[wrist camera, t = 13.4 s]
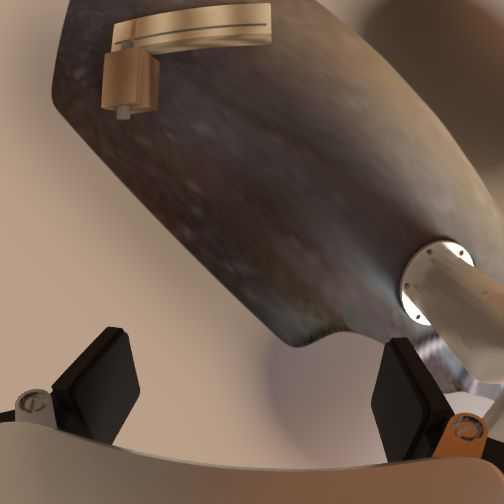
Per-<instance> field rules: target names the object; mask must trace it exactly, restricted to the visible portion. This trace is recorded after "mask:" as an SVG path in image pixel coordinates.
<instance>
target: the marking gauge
mask: <svg viewBox="0 0 504 504" xmlns="http://www.w3.org/2000/svg"><path fill="white" fill-rule="evenodd" d="M159 65H160V62H159V61H158V60H156V59H155V58H154V57H152V56H151V55H150V54H149V53H147V52H146V51H145V50H143V49H142V48H141V47H139V46H137V47H134V43H133V42H132V41H131V40H129V41H125V42H121V50H118V51H114V52H110V53H106V54H105V60H104V72H103V85H102V104H101V108H104V109H108V110H111V111H115V112H117V119H119V120H126V119H130V114H136V113H144V112H152V111H158V87H159Z"/></svg>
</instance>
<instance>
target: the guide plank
mask: <svg viewBox="0 0 504 504" xmlns="http://www.w3.org/2000/svg"><path fill="white" fill-rule="evenodd" d="M129 40H131V41H132V42H133V43H134V47H137V46H139V47H141V48H142V49H143V50H145V51H146V52H147V53H149V54H150V55H157V54H164V53H170V52H178V51H185V50H194V49H204V48H215V47H230V46H253V45H272V24H271V4H270V3H254V4H234V5H220V6H210V7H201V8H193V9H186V10H179V11H173V12H167V13H161V14H156V15H151V16H146V17H142V18H137V19H133V20H129V21H125V22H121V23H117V24H114V31H113V40H112V49H111V52H114V51H118V50H121V42H125V41H129Z"/></svg>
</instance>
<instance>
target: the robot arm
mask: <svg viewBox="0 0 504 504" xmlns="http://www.w3.org/2000/svg"><path fill="white" fill-rule="evenodd" d="M427 251H428V252H427ZM406 283H407V284H406ZM405 284H406V285H405ZM400 300H401V303H402V306H403V308H404V310H405V311H406V313H407V314H408V315H409V316H410V317H411V318H412V319H413V320H414V321H416V322H418V323H420V324H424V325H431V326H432V327H433V328H434V329H435V331H436V332H437V333H438V334H439V335H440V337H441V338H442V339H443V340H444V342H445V343H446V344H447V345H448V347H449V348H450V349H451V350H452V352H453V353H454V354H455V355H456V357H457V358H458V359H459V361H460V362H461V363H462V364H463V366H464V367H465V368H466V370H467V371H468V372H469V373H470V374H471V375H472V376H473V377H474V378H476V379H477V380H479V381H482V382H484V383H490V384H502V383H504V285H502V284H501V283H499V282H498V281H496V280H494V279H493V278H492V277H491V276H488V275H487V274H485V273H484V272H482V271H480V270H479V269H477V268H476V267H474V265H473V261H472V259H471V257H470V255H469V253H468V252H467V251H466V250H465V249H464V248H463V247H462V246H461V245H459V244H457V243H455V242H452V241H448V240H439V241H434V242H432V243H429V244H427V245H425V246H424V247H422V248H421V249H420V250H418V251H417V252H416V253H415V254H414V255H413V257H412V258H411V259H410V260H409V262H408V264H407V265H406V267H405V269H404V272H403V274H402V277H401V282H400ZM51 387H52V389H53V391H52V392H51V393H50V394H49V393H48V392H47V391H45V390H42V389H33V390H29V391H26V392H24V393H23V394H21V395H20V396H19V397H18V399H17V400H16V403H15V410H11V411H8V412H3V413H0V504H504V388H503V389H502V391H501V392H500V394H499V395H498V397H497V398H496V400H495V402H494V404H493V405H492V406H491V408H490V409H489V410H488V411H487V413H486V414H485V415H484V417H483V418H480V417H479V416H477V415H474V414H471V413H459V414H456V415H455V414H454V412H453V410H452V408H451V407H450V405H449V403H448V402H447V400H446V398H445V396H444V395H443V393H442V391H441V390H440V388H439V386H438V385H437V383H436V382H435V380H434V378H433V377H432V375H431V373H430V372H429V371H428V370H427V368H426V366H425V365H424V363H423V362H422V360H421V358H420V357H419V355H418V354H417V352H416V351H415V349H414V347H413V346H412V344H411V343H410V341H409V340H408V338H406V337H403V338H392V339H391V340H390V342H387V343H386V344H385V347H384V351H383V356H382V360H381V364H380V369H379V373H378V376H377V381H376V384H375V388H374V392H373V395H372V399H371V407H372V411H373V414H374V417H375V421H376V424H377V427H378V430H379V433H380V437H381V440H382V444H383V447H384V451H385V454H386V457H387V461H388V463H383V464H374V465H363V466H351V467H337V468H316V469H273V468H251V467H237V466H226V465H216V464H208V463H200V462H193V461H186V460H180V459H173V458H167V457H162V456H157V455H152V454H147V453H142V452H138V451H133V450H129V449H125V448H121V447H117V446H113V445H112V443H113V442H114V440H115V438H116V436H117V434H118V433H119V431H120V429H121V427H122V425H123V424H124V422H125V420H126V418H127V417H128V415H129V413H130V411H131V410H132V408H133V406H134V404H135V402H136V401H137V399H138V397H139V394H140V387H139V383H138V378H137V374H136V370H135V365H134V361H133V357H132V351H131V347H130V342H129V337H128V334H127V333H126V332H124V330H123V329H122V328H116V327H107V328H106V329H105V330H104V331H103V332H102V333H101V334H100V335H99V336H98V337H97V338H96V339H95V340H94V341H93V342H92V343H91V344H90V345H89V346H88V348H87V349H86V350H85V351H84V352H83V353H82V354H81V355H80V356H79V357H78V358H77V359H76V360H75V361H74V363H72V364H71V365H70V367H69V368H68V369H67V370H66V371H65V372H64V373H63V374H62V375H61V376H60V377H59V379H58V380H57V381H56V382H55V383H54V384H53V385H52V386H51Z"/></svg>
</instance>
